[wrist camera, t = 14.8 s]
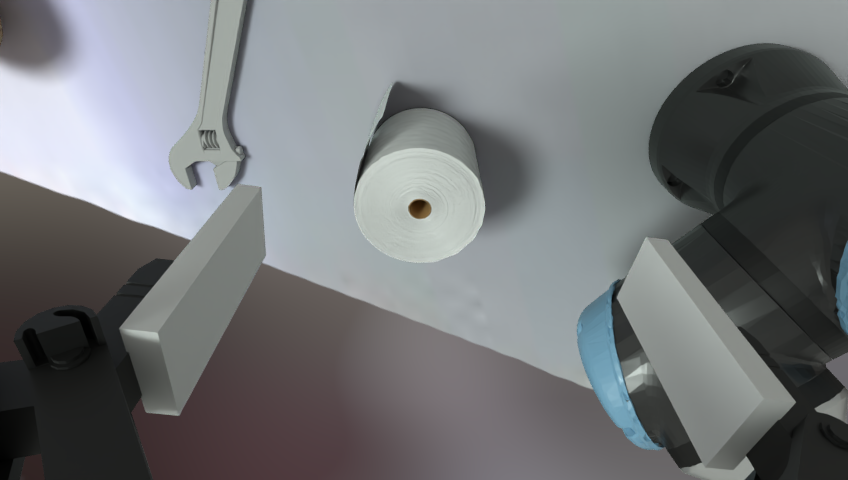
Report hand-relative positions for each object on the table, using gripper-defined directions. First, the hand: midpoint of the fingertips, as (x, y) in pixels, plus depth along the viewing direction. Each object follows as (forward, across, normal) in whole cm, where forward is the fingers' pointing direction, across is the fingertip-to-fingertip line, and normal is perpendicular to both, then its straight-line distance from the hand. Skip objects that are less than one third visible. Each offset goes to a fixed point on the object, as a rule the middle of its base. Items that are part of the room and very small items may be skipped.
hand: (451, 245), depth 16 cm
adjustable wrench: (+29, +19, +4) cm, 35 cm away
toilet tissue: (+29, +1, +9) cm, 30 cm away
